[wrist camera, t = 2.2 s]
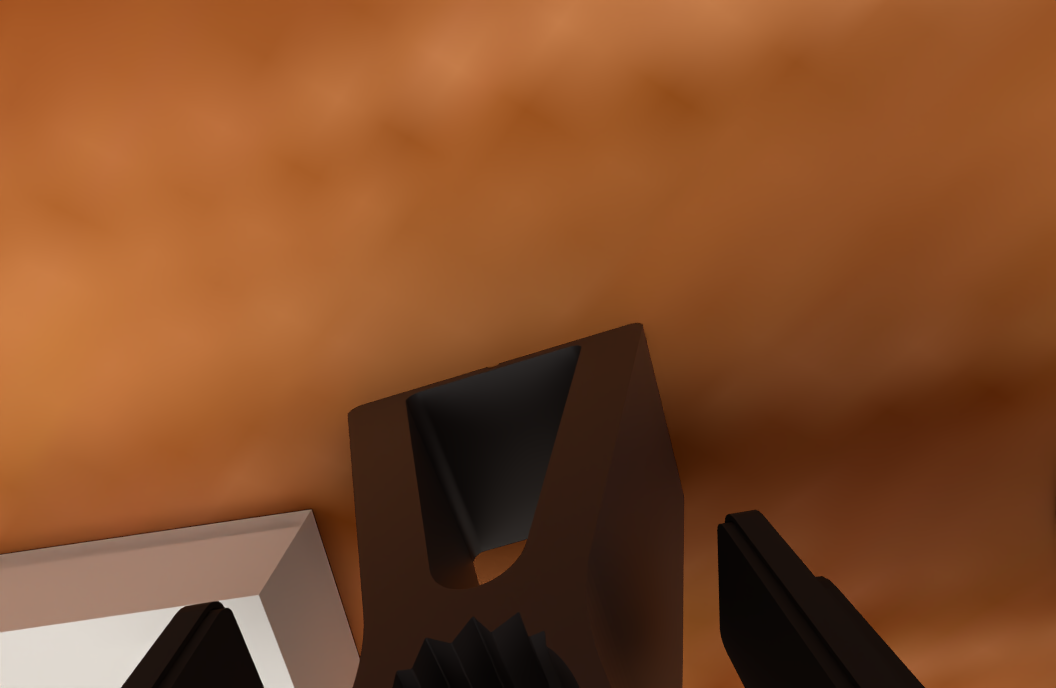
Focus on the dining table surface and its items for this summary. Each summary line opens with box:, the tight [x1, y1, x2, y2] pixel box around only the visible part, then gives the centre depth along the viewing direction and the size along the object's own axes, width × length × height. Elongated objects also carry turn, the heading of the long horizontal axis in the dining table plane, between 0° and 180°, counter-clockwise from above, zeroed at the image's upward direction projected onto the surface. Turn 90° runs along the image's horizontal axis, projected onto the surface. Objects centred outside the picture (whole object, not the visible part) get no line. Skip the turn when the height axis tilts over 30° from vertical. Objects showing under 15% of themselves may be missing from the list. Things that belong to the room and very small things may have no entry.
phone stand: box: [348, 323, 684, 688], centre depth 10 cm, size 9×6×12 cm, turn 107°
